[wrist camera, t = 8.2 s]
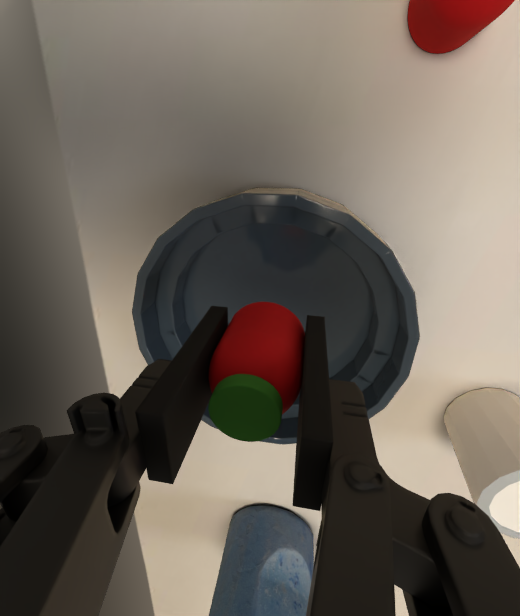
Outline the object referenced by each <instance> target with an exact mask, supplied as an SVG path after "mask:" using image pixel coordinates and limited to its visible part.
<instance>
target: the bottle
mask: <svg viewBox="0 0 520 616" xmlns="http://www.w3.org/2000/svg"><path fill="white" fill-rule="evenodd" d="M313 568H314V556H313V534H312V533H311V530H310V528H309V527H308V525H307V524H306V523H305V522H304V521H303V520H302V519H301V518H299V517H298V516H297V515H295V514H293V513H292V512H290V511H287V510H283V509H280V508H277V507H273V506H261V505H259V506H250V507H247V508H244V509H242V510H240V511H239V512H237V513H236V514H235V515H234V516H233V518H232V519H231V522H230V526H229V529H228V534H227V539H226V544H225V548H224V552H223V557H222V561H221V565H220V570H219V575H218V579H217V583H216V587H215V591H214V595H213V599H212V605H211V609H210V613H209V616H306V612H307V606H308V599H309V593H310V587H311V580H312V574H313Z"/></svg>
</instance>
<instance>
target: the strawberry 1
mask: <svg viewBox="0 0 520 616" xmlns="http://www.w3.org/2000/svg"><path fill="white" fill-rule="evenodd" d="M304 339H305V333H304V329H303V326H302V324H301V322H300V321H299V319H298V318H297V317H296V315H294V314H293V313H292V312H291V311H290V310H289V309H287V308H285V307H284V306H281V305H279V304H276V303H272V302H256V303H252V304H249V305H246V306H244V307H243V308H241V309H240V310H239V311H238V312H237V313H236V314H235V315H234V316H233V318H232V320H231V321H230V323H229V325H228V327H227V329H226V331H225V333H224V334H223V336H222V338H221V340H220V342H219V344H218V346H217V347H216V349H215V351H214V353H213V355H212V358H211V361H210V366H209V384H210V388H211V392H212V396H211V398H210V400H209V404H208V410H209V415H210V418H211V420H212V422H213V423H214V425H215V426H216V427H217V428H218V429H219V430H220V431H222V432H223V433H224V434H226V435H228V436H230V437H232V438H234V439H237V440H241V441H248V442H254V441H261V440H264V439H267V438H269V437H270V436H272V435H273V434H274V433H275V432H276V431H277V430H278V428H279V426H280V424H281V419H282V414H284V413H285V412H286V411H287V410H288V409H289V408H290V407H291V406H292V405H293V403H294V402H295V400H296V399H297V397H298V395H299V392H300V390H301V385H302V375H303V357H304Z"/></svg>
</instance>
